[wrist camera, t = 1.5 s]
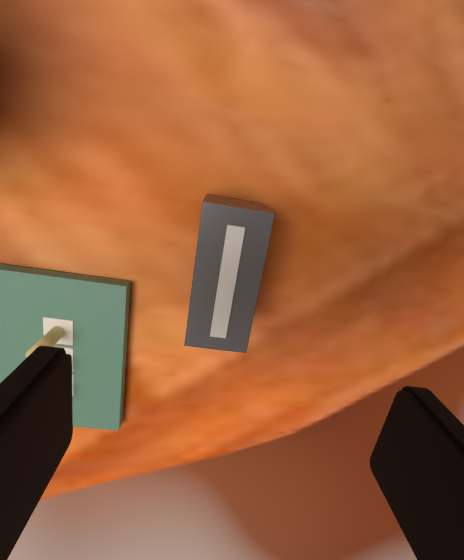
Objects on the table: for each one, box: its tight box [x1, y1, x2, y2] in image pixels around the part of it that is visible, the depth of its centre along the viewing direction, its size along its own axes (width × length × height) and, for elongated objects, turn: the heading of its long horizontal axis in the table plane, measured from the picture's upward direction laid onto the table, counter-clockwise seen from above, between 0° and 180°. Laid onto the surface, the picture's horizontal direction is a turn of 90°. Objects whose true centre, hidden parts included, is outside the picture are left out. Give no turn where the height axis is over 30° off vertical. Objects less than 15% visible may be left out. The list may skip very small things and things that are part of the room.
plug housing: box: [184, 194, 275, 353], centre depth 21 cm, size 9×4×6 cm, turn 171°
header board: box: [0, 264, 131, 431], centre depth 24 cm, size 14×10×5 cm
